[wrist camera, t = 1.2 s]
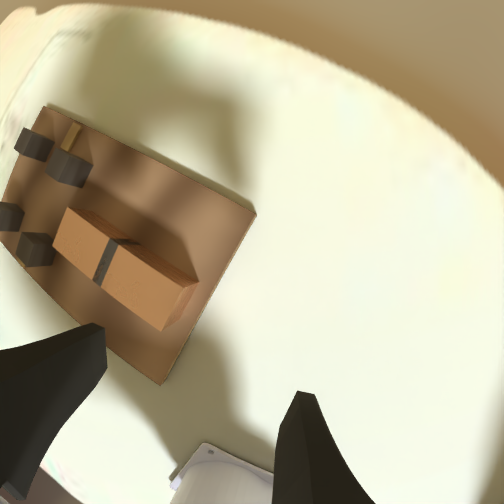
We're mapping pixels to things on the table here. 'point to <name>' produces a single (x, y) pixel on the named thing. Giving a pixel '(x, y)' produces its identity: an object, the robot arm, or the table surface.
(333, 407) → the table surface
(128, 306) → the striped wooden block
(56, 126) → the brown flat board
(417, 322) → the table surface
